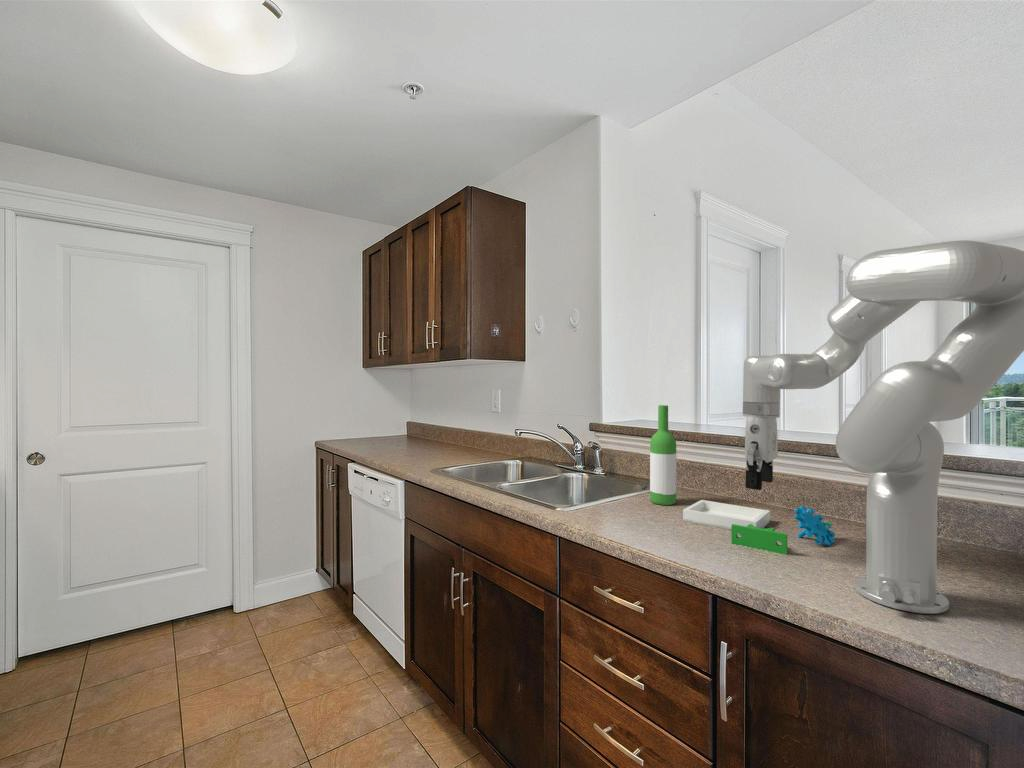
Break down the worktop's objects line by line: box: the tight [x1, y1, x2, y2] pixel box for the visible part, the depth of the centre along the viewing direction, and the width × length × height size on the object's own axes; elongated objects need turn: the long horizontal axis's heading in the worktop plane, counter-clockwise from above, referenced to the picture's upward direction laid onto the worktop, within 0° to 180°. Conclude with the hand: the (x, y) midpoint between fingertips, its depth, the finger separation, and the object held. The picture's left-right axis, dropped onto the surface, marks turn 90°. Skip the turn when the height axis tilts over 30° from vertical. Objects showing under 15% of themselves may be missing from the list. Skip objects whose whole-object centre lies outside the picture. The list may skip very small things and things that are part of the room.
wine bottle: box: [649, 404, 677, 506], centre depth 148 cm, size 8×8×30 cm
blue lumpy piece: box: [794, 505, 836, 547], centre depth 114 cm, size 11×6×10 cm
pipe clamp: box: [730, 524, 788, 556], centre depth 109 cm, size 11×4×5 cm, turn 51°
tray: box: [682, 499, 771, 531], centre depth 129 cm, size 14×18×3 cm
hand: (759, 485), depth 110 cm, fingers open, 9 cm apart
